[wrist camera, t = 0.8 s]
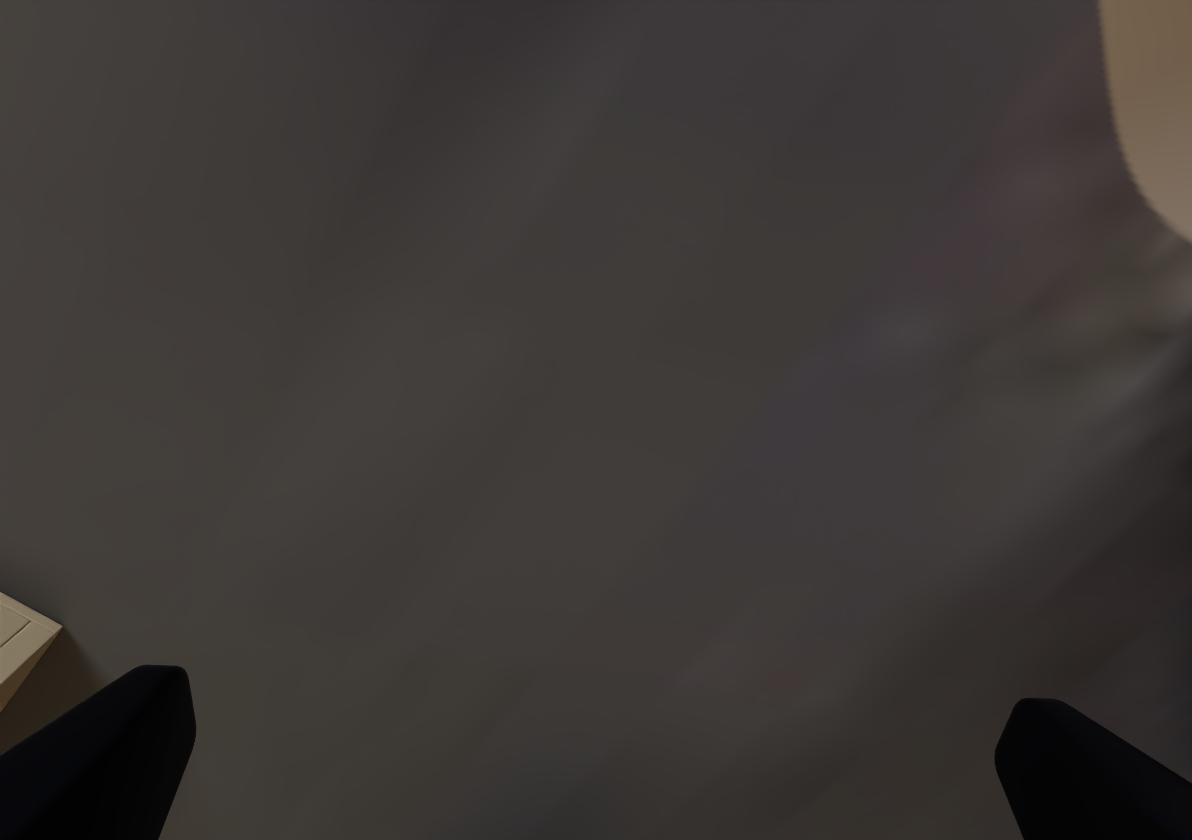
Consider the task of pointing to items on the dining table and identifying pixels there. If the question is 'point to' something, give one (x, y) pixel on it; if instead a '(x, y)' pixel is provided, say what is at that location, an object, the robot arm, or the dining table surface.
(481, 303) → the dining table surface
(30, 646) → the tray
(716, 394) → the dining table surface
